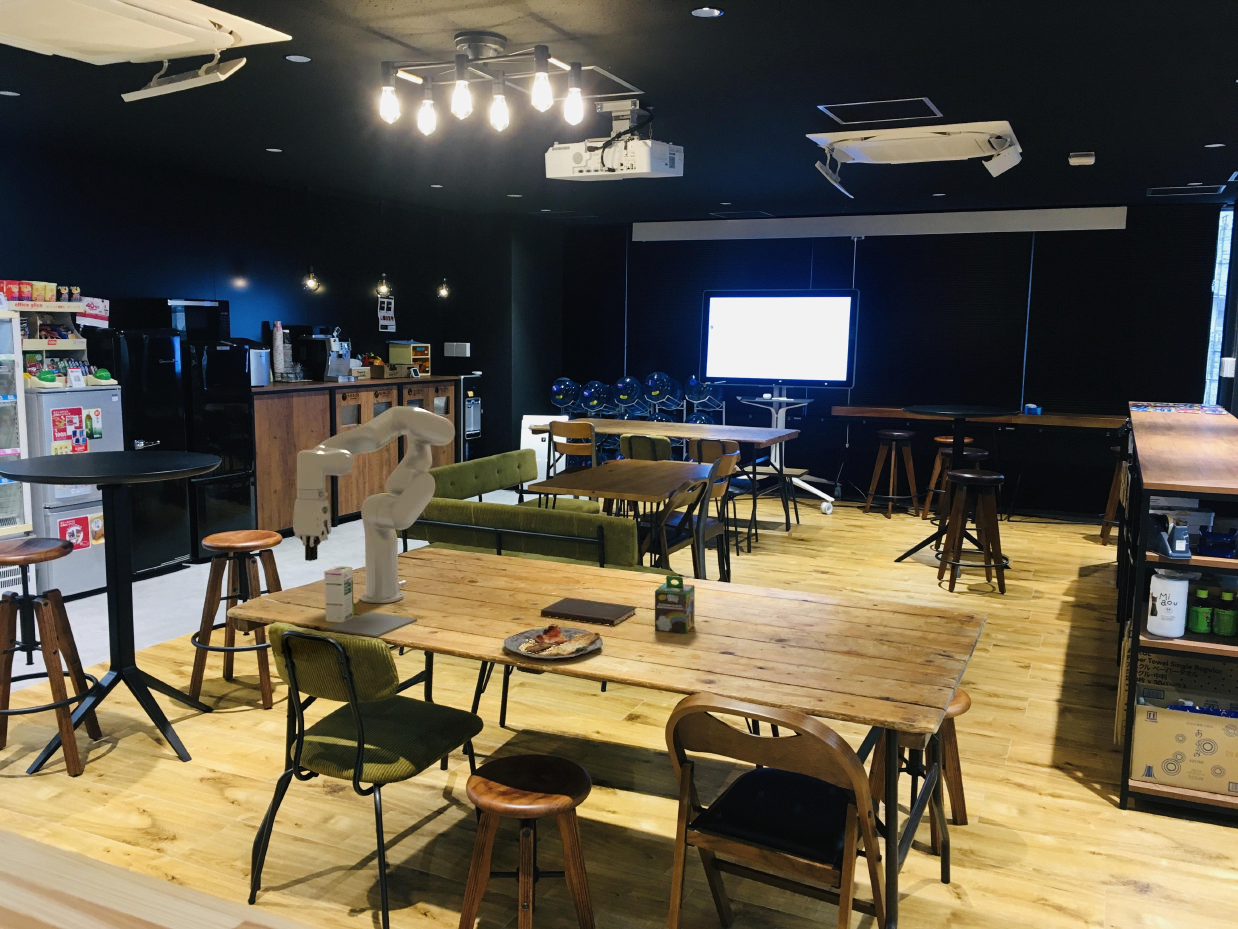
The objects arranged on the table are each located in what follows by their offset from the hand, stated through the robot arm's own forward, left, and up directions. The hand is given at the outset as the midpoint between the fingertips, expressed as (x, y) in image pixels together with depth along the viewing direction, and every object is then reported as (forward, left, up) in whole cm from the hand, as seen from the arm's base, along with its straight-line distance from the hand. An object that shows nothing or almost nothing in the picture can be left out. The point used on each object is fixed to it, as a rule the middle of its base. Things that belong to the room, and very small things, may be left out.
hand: (311, 559), depth 271 cm
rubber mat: (-1, +21, -16) cm, 26 cm away
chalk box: (-36, +95, -16) cm, 103 cm away
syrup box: (-1, +9, -16) cm, 19 cm away
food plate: (-5, +74, -17) cm, 76 cm away
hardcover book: (-38, +68, -17) cm, 80 cm away
